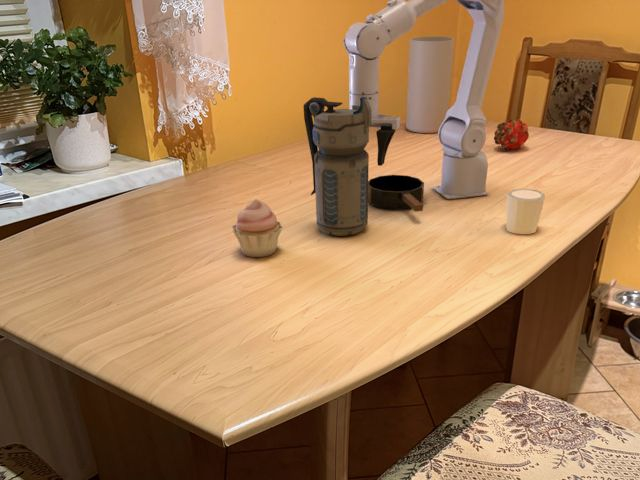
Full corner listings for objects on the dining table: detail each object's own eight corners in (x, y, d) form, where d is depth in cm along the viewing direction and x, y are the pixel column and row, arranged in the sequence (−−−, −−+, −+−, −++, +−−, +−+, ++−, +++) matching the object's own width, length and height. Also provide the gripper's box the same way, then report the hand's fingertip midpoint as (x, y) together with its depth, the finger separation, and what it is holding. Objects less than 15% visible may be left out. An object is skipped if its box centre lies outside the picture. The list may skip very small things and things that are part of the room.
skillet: (360, 195, 144) (360, 177, 142) (410, 190, 146) (411, 172, 144) (389, 226, 127) (390, 207, 125) (445, 220, 129) (447, 201, 127)
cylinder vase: (404, 133, 191) (408, 41, 178) (406, 124, 201) (411, 36, 188) (447, 134, 189) (454, 41, 176) (447, 124, 199) (453, 36, 186)
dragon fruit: (493, 159, 171) (516, 156, 179) (520, 144, 164) (542, 142, 172) (482, 129, 171) (506, 128, 179) (508, 113, 164) (532, 112, 172)
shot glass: (540, 224, 126) (546, 189, 122) (538, 237, 120) (544, 201, 117) (504, 221, 128) (509, 187, 124) (501, 233, 122) (506, 198, 119)
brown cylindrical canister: (321, 215, 133) (318, 88, 120) (379, 224, 128) (382, 92, 115) (296, 231, 126) (290, 98, 113) (356, 242, 120) (357, 103, 107)
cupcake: (243, 265, 113) (237, 211, 108) (228, 247, 120) (222, 195, 115) (292, 255, 116) (289, 202, 111) (274, 238, 123) (271, 187, 118)
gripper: (321, 94, 123) (323, 164, 130) (393, 98, 117) (390, 171, 125) (335, 87, 128) (336, 155, 135) (404, 91, 123) (401, 161, 130)
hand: (363, 162), depth 130 cm, fingers open, 7 cm apart
